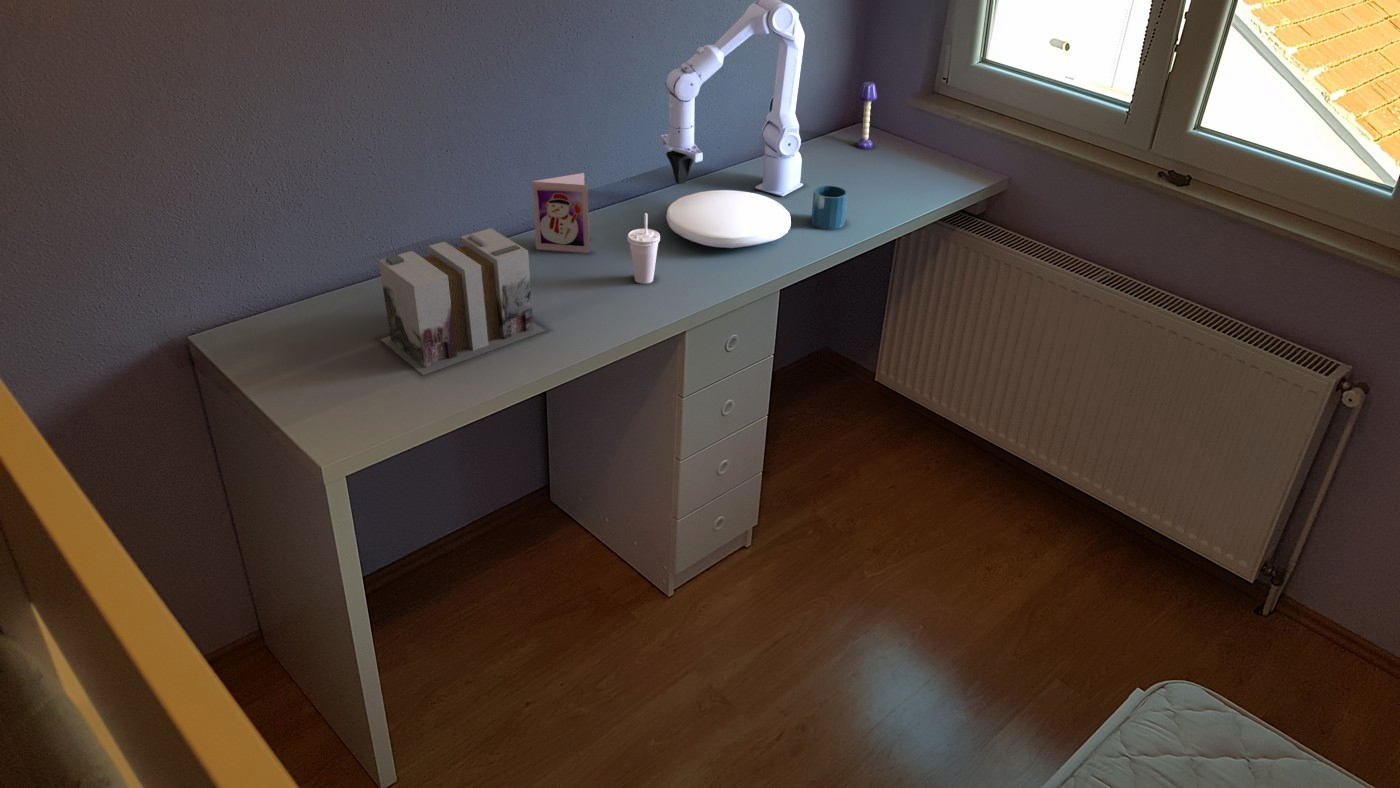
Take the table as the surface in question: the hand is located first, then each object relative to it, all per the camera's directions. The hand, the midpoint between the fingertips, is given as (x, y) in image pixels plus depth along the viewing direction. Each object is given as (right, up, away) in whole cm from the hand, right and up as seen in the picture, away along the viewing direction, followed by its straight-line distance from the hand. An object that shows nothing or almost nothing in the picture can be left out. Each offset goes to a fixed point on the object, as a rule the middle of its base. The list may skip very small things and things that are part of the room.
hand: (680, 182), depth 247 cm
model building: (-38, -38, -53) cm, 76 cm away
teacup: (+33, -10, -7) cm, 35 cm away
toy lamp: (+48, +17, +37) cm, 63 cm away
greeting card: (-24, -17, -20) cm, 36 cm away
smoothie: (-7, -26, -32) cm, 42 cm away
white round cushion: (+11, -13, -11) cm, 20 cm away
